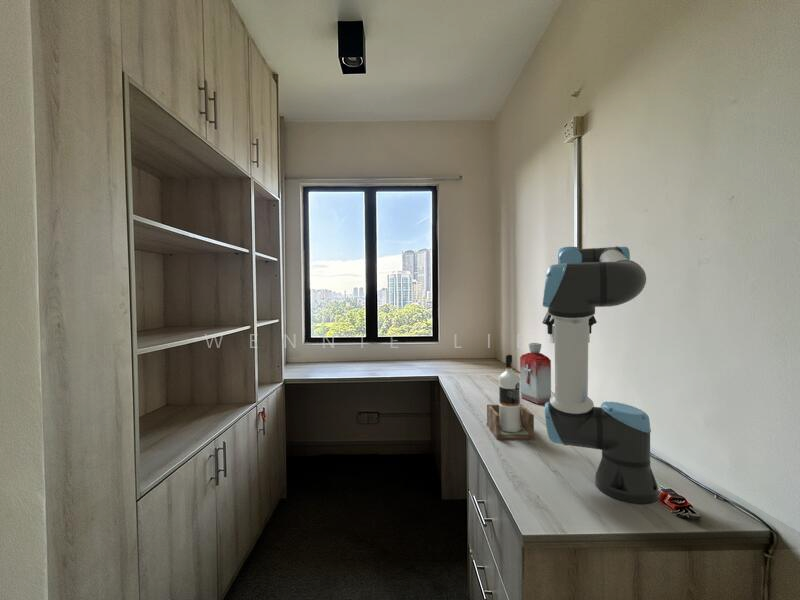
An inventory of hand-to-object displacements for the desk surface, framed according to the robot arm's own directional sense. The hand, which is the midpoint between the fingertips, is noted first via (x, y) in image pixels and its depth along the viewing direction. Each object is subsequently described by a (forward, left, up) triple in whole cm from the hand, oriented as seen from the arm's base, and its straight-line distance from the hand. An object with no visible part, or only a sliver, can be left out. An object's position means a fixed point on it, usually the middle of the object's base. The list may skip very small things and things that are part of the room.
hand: (569, 342), depth 142 cm
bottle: (+50, -5, -37) cm, 62 cm away
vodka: (+6, +22, -36) cm, 42 cm away
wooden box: (+6, +22, -37) cm, 43 cm away
